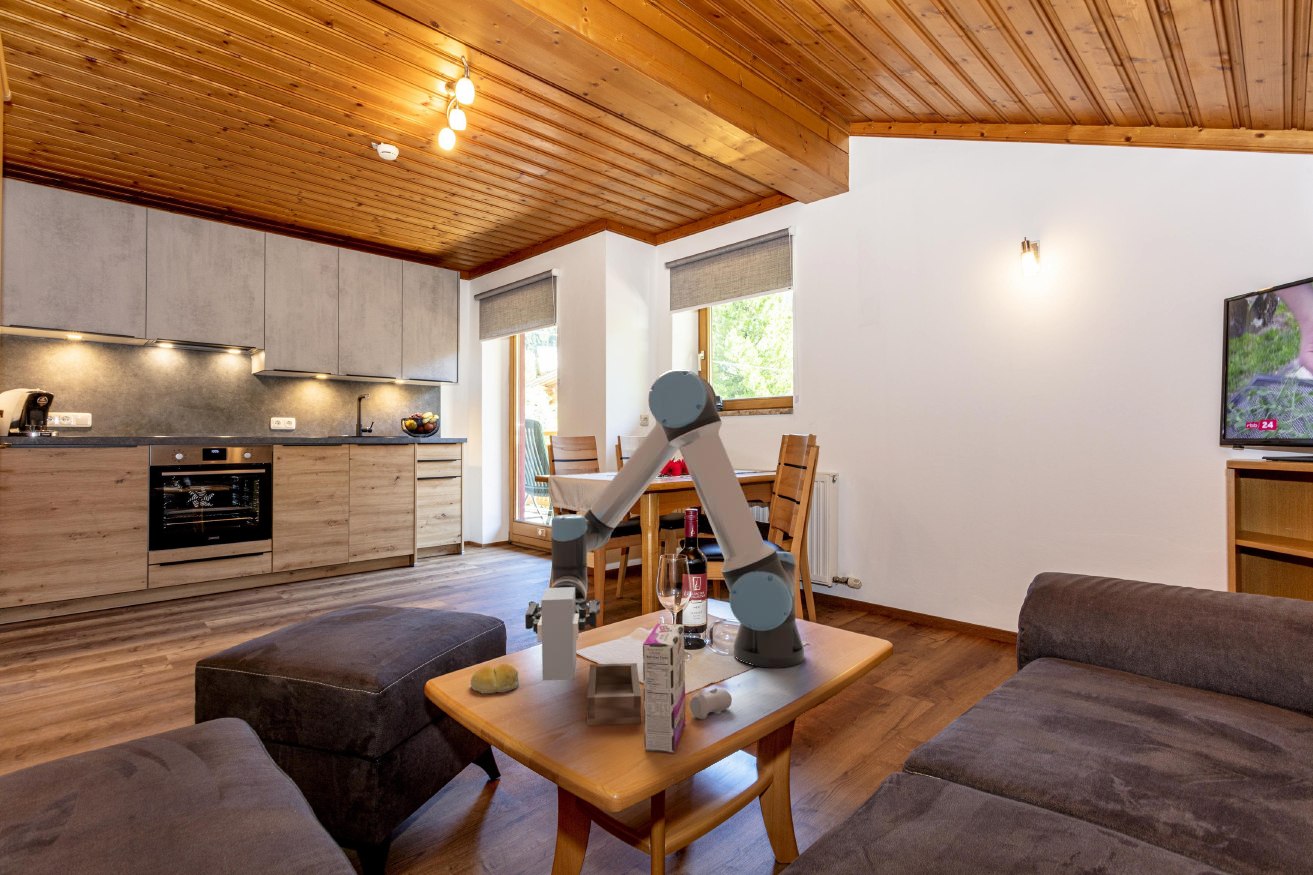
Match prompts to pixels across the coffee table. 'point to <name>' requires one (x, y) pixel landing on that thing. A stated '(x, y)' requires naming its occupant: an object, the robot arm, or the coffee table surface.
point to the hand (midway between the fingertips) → (557, 632)
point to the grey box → (558, 634)
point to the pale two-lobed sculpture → (710, 702)
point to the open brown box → (613, 694)
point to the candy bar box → (664, 687)
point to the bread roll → (495, 679)
